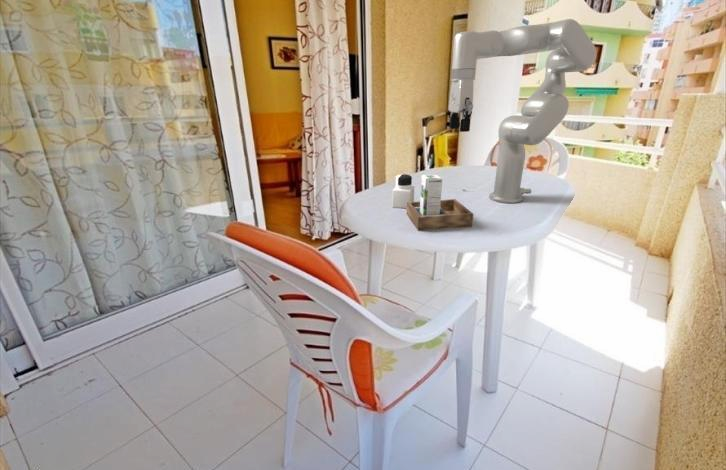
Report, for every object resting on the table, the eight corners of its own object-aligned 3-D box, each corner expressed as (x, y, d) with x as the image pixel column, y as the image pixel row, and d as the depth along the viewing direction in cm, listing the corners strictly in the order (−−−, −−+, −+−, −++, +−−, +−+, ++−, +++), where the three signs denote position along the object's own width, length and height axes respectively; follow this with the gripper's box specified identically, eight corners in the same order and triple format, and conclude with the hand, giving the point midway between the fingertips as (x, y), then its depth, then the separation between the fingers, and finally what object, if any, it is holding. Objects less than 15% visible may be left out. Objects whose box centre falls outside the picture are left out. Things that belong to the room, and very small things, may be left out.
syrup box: (419, 215, 118) (420, 174, 113) (435, 214, 119) (437, 173, 113) (423, 221, 113) (424, 178, 107) (440, 220, 114) (443, 177, 108)
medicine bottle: (414, 203, 134) (414, 173, 130) (410, 209, 128) (411, 178, 123) (396, 202, 137) (396, 172, 132) (392, 207, 130) (392, 177, 126)
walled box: (454, 210, 125) (455, 199, 123) (471, 226, 110) (473, 213, 108) (406, 214, 123) (406, 202, 121) (417, 230, 108) (418, 217, 107)
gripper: (443, 77, 118) (440, 128, 125) (462, 74, 102) (457, 133, 109) (464, 76, 119) (460, 127, 125) (486, 74, 103) (480, 132, 110)
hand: (459, 129), depth 117 cm, fingers open, 9 cm apart
